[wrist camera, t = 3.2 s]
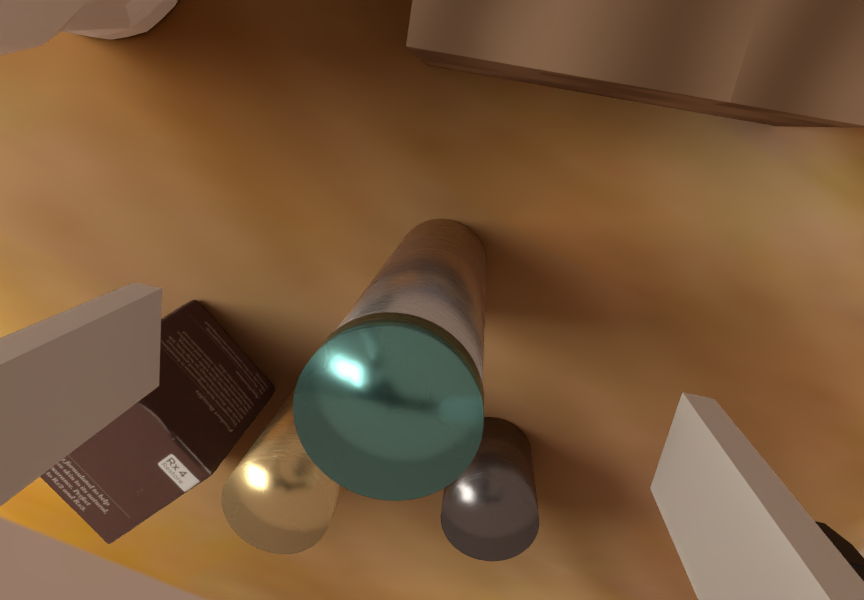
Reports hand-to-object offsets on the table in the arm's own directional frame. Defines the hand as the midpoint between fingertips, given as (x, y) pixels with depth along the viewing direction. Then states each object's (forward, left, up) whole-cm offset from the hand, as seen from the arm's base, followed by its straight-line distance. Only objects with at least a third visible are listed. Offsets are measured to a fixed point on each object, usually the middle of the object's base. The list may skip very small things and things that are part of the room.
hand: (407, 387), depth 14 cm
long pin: (0, 0, -12) cm, 12 cm away
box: (-11, -8, -12) cm, 18 cm away
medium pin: (-4, -8, -12) cm, 15 cm away
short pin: (+4, -9, -12) cm, 15 cm away
